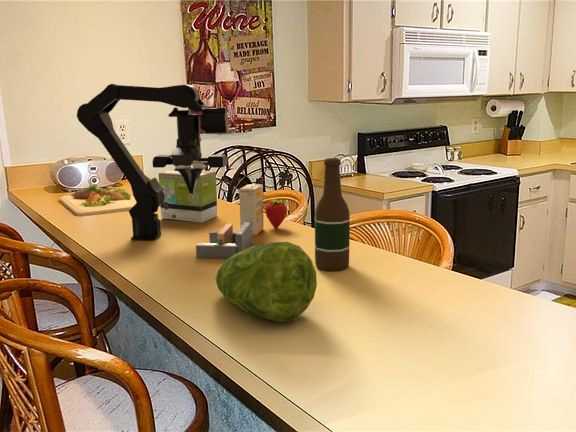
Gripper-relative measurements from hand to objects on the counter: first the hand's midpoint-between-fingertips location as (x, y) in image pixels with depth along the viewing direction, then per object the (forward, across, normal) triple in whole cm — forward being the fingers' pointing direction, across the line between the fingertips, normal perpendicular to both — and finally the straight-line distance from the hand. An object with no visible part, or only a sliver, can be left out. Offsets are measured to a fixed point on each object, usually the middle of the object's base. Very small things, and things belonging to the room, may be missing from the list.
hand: (191, 193), depth 146 cm
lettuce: (+12, +25, -48) cm, 56 cm away
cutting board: (+13, -46, +44) cm, 65 cm away
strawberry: (+12, +21, +11) cm, 27 cm away
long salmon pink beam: (+11, +12, -13) cm, 21 cm away
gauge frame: (+12, +11, -12) cm, 20 cm away
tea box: (+12, -8, +23) cm, 27 cm away
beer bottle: (+12, +38, -23) cm, 46 cm away
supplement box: (+12, +15, +6) cm, 20 cm away
